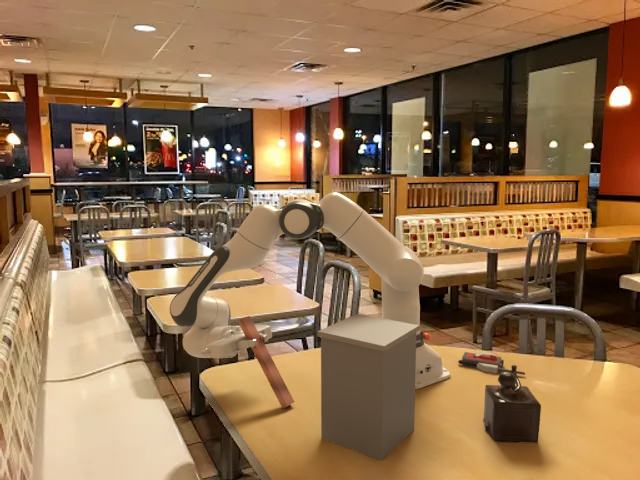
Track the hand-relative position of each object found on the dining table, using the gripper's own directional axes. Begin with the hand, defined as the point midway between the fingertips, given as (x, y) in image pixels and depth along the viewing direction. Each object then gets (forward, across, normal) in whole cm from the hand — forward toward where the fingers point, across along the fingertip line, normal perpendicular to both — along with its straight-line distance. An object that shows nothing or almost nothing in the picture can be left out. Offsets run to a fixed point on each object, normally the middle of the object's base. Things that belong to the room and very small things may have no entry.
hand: (260, 340), depth 140 cm
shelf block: (+29, 0, +24) cm, 37 cm away
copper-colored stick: (-1, 0, +6) cm, 6 cm away
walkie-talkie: (+38, +58, +27) cm, 75 cm away
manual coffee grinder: (+56, +19, +30) cm, 66 cm away
